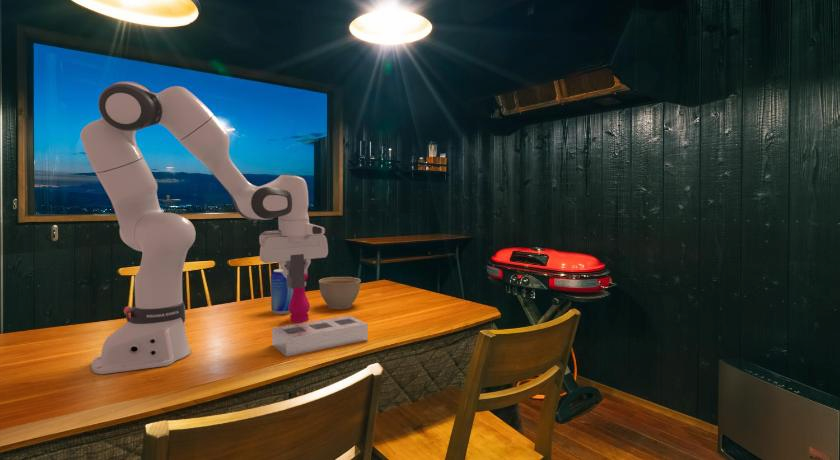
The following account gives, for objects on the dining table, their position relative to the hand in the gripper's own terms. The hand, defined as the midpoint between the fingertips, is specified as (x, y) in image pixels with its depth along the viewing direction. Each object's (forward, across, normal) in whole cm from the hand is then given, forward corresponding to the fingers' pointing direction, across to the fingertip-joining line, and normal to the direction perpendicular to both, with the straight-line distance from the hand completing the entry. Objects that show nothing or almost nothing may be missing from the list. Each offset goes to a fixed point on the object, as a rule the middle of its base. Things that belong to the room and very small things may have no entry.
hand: (295, 274), depth 137 cm
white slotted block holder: (+20, +4, -8) cm, 22 cm away
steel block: (+4, 0, 0) cm, 4 cm away
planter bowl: (+20, +29, +29) cm, 46 cm away
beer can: (+20, +8, +34) cm, 41 cm away
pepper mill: (+20, +8, +20) cm, 30 cm away
